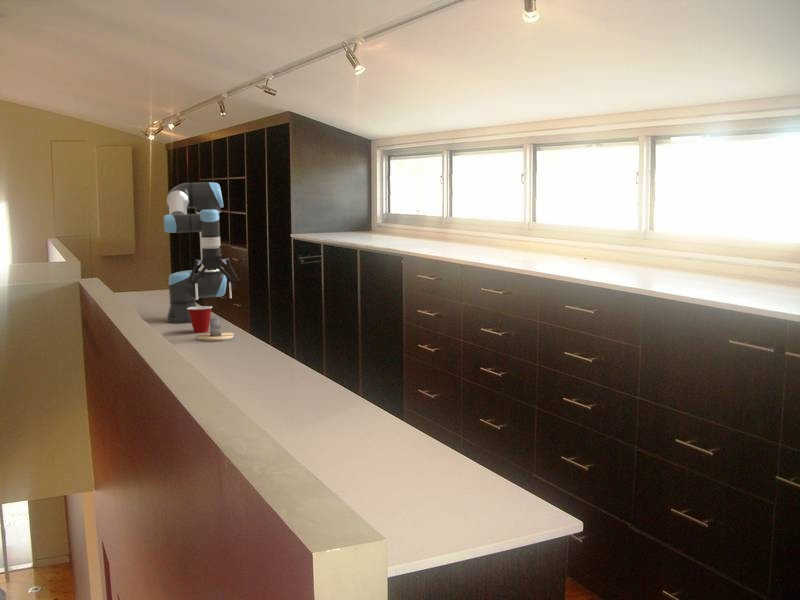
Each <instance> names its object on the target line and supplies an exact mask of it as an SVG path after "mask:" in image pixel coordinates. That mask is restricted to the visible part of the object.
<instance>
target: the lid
mask: <svg viewBox="0 0 800 600" xmlns="http://www.w3.org/2000/svg"><path fill="white" fill-rule="evenodd" d="M221 321H222V320H221V318H219V317H213V318H210V322H209V330H210V332H205V333H200V334H198V335H199V336H198V340H199V341H204V342H212V343H219V342H218V341H226V340H230V339H233V338H234V334H233V333H234V332H227V331H222V323H221Z"/></svg>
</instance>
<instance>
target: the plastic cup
mask: <svg viewBox="0 0 800 600" xmlns="http://www.w3.org/2000/svg"><path fill="white" fill-rule="evenodd" d="M212 308H213V306H212V305H203V306H202V305H201V306H197V307H190V308H187V309H188V311H189V314H190V318H191V322H190V323H191V326H192V329H193V332H194V333H196V334H205V333H209V330H210V319H211V313H212Z"/></svg>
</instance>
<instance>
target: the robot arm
mask: <svg viewBox="0 0 800 600" xmlns="http://www.w3.org/2000/svg"><path fill="white" fill-rule="evenodd" d="M221 189H222V188H221V186H220V184H219V183H218V182H214V181H213V182H211V181H209V182H208V181H207V182H206V181H205V182H184V183H180V184H178V185H176V186H174V187H173V188H172V189H171V190H169V191H168V193H167V195H166V204H167V206H168V214H165V215H164V216H163V229H164V230H163V231H164V232H165V233H167V234H168V233H169V234H171V233H173V234H175V233H176V234H177V233H179V234H180V233H199V244H200V245H199V247H200V248H199V249H200V259H195V260H194V265H193V268H192V269H191V270H190V269H189V270H182V271H176V272H174V273H171V274H169V276H168V288H169V289H168V290H169V293H168V294H169V308H168V312H167V315H166V321H167V323H169V324H170V323H173V324H186V323H192V322H191V318H190V314H189V311H188V309H187V308H190V307H198V306H197V303H196V301H198V300H199V298H200V299H201V298H216V297H217V298H218V297H223V296H225V294H226V291H227V281H228V288H229V290H228V291H229V299H232V297H233V296H232V295H233V294H232V291H234V290H235V282H237V281H238V280H239V277H238V275H237V274H236V273H235V270H234V268H233V267H232V266H231V263H230V259H229V258H228V257H227V258H225V259H224V258H223V259H222V249H221V235H220V234H221V232H220V228H221V227H220V213H221V212H222V211H221V208H224V200H223V196H222V195H223V194H222V190H221ZM188 209H194V212H195V213H188ZM223 263H224V265H226V266H227V268H228V270H229V271H230V273H231V275H232V276H231V275H230V274H229V273H228V272H227V271H226V270H225V268H224V267H222V264H223ZM200 264H201V265H200ZM198 266H200V267H199V268H198V270H197V267H198ZM196 271H198V273H197V272H196ZM227 279H228V280H227Z"/></svg>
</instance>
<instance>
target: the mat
mask: <svg viewBox="0 0 800 600" xmlns="http://www.w3.org/2000/svg"><path fill="white" fill-rule="evenodd" d="M232 333H233V334H234V338H233V339H230V340H226V341H218V342H217V343H223V342H224V343H226V342H236V340H237V339H236V338H237V333H236V332H232ZM199 335H200V334H197V336H196V339H195V341H194V344H209V343H213V342H204V341H199V340H198V336H199Z"/></svg>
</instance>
